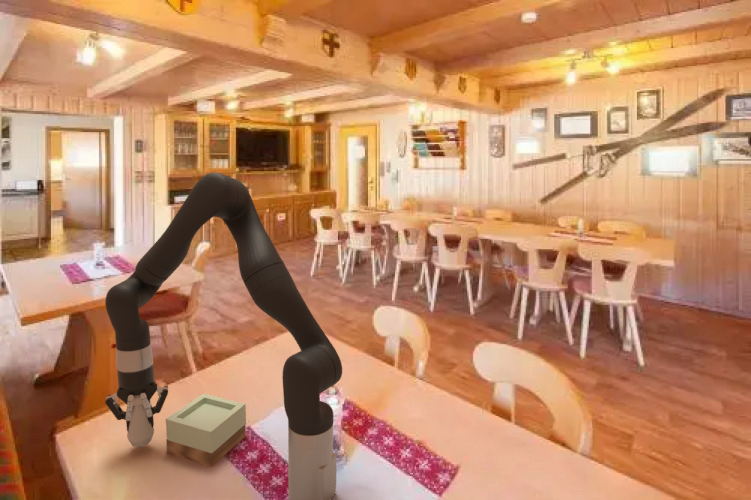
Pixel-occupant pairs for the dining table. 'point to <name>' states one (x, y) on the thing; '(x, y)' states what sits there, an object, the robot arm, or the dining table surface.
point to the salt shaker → (139, 425)
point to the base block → (203, 456)
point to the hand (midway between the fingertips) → (140, 430)
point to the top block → (206, 422)
